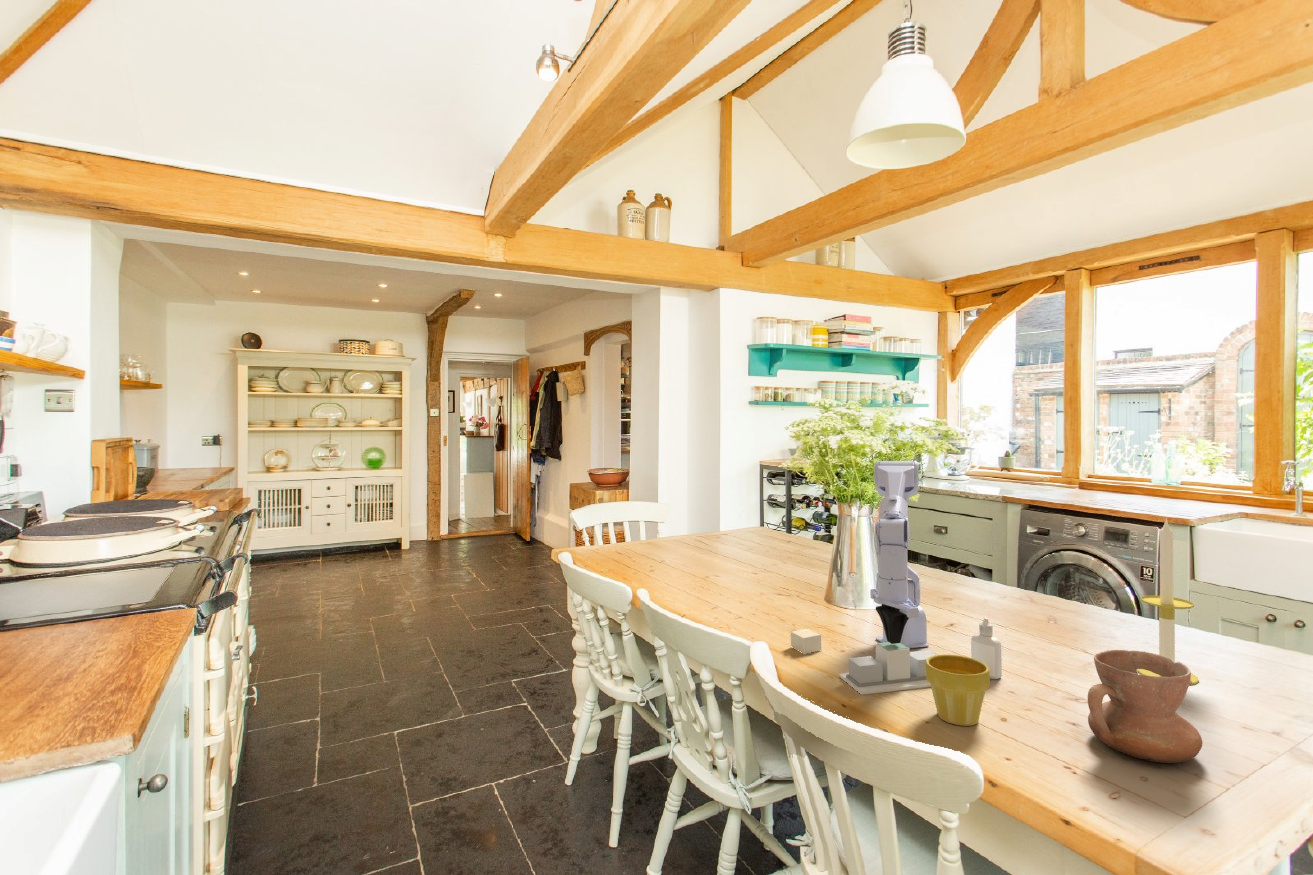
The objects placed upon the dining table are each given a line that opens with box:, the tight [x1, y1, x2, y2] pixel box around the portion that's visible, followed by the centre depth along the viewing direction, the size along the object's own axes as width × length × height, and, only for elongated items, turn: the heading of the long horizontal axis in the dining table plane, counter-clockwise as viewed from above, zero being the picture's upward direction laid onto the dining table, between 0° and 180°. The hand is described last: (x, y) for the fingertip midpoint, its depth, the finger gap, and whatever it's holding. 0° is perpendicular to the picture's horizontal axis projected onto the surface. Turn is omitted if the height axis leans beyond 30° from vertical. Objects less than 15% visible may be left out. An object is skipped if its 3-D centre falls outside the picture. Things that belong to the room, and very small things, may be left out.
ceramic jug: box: [1087, 649, 1203, 764], centre depth 100 cm, size 18×14×14 cm
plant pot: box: [926, 653, 991, 727], centre depth 112 cm, size 10×10×10 cm
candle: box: [1137, 518, 1200, 686], centre depth 128 cm, size 10×10×32 cm
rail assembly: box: [838, 649, 935, 696], centre depth 128 cm, size 20×9×5 cm, turn 101°
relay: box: [790, 628, 822, 655], centre depth 147 cm, size 5×5×4 cm
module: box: [875, 642, 911, 680], centre depth 128 cm, size 5×4×6 cm
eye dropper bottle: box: [970, 617, 1003, 680], centre depth 130 cm, size 4×6×12 cm
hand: (893, 642), depth 128 cm, fingers closed
